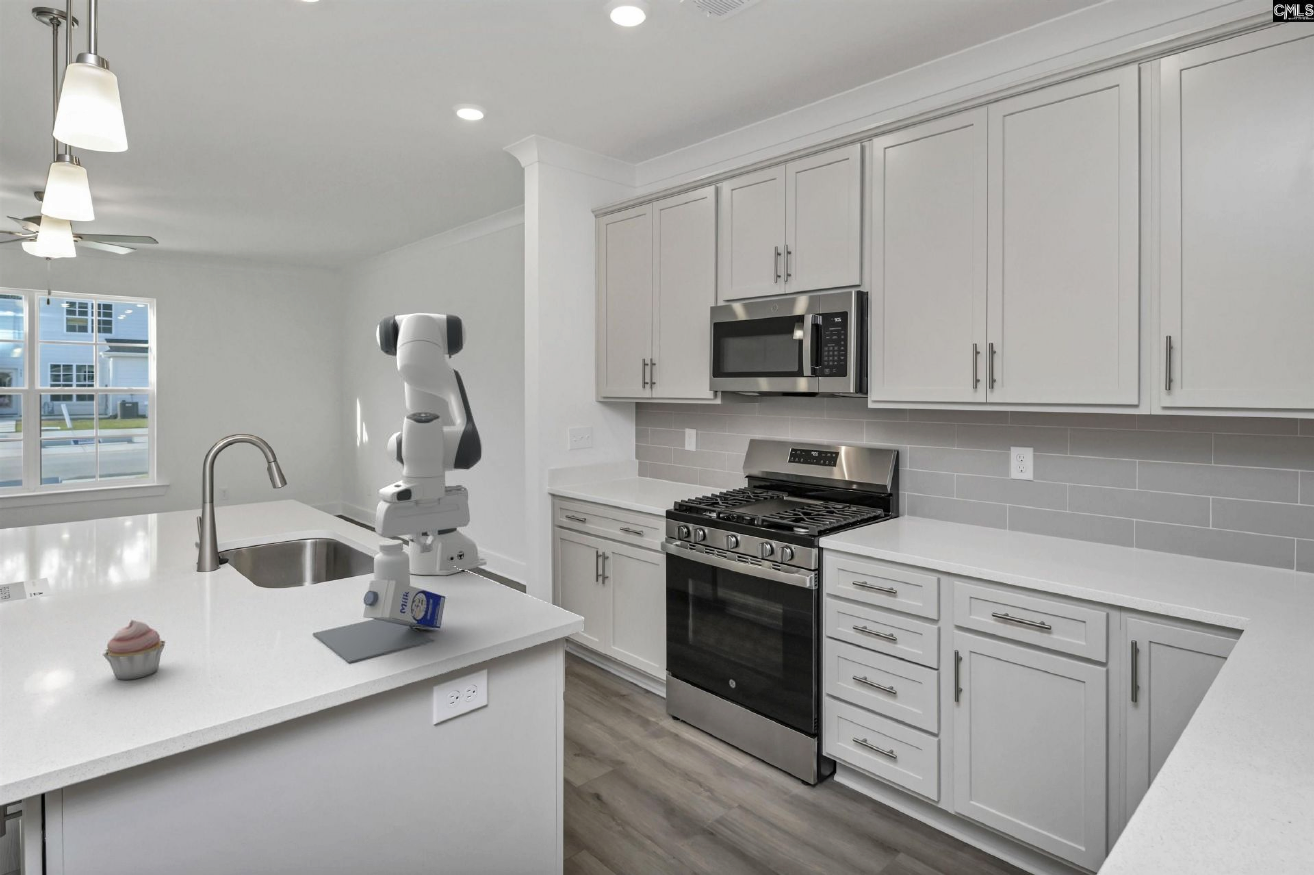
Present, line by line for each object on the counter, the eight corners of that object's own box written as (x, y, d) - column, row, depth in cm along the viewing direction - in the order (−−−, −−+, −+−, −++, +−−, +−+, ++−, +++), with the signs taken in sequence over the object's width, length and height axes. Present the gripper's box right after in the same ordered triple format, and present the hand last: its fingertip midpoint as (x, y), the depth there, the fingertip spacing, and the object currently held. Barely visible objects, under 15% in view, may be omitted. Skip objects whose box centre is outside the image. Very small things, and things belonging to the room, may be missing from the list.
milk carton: (440, 629, 153) (388, 617, 135) (412, 628, 155) (356, 616, 136) (445, 595, 156) (395, 579, 137) (418, 594, 157) (364, 578, 139)
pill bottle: (367, 607, 167) (366, 544, 166) (388, 597, 175) (386, 537, 174) (397, 610, 166) (396, 547, 164) (417, 600, 173) (416, 539, 172)
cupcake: (100, 672, 130) (97, 619, 129) (161, 659, 136) (159, 607, 135) (107, 689, 123) (104, 632, 122) (172, 674, 129) (169, 620, 129)
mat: (392, 616, 161) (392, 615, 161) (433, 641, 147) (433, 639, 147) (312, 635, 149) (312, 633, 149) (348, 663, 135) (348, 661, 135)
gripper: (460, 482, 163) (461, 542, 164) (371, 491, 149) (372, 556, 150) (474, 485, 158) (475, 547, 159) (383, 495, 144) (385, 562, 145)
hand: (424, 552), depth 155 cm, fingers closed
